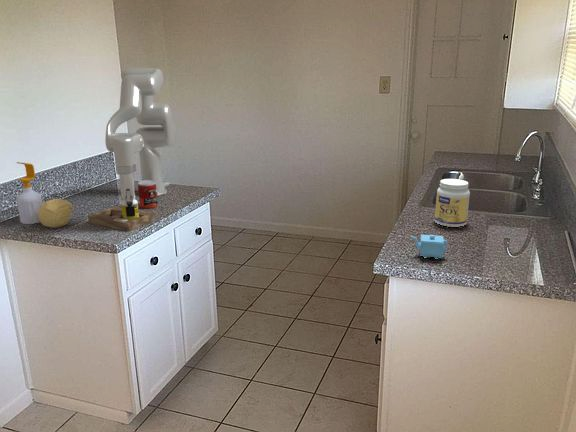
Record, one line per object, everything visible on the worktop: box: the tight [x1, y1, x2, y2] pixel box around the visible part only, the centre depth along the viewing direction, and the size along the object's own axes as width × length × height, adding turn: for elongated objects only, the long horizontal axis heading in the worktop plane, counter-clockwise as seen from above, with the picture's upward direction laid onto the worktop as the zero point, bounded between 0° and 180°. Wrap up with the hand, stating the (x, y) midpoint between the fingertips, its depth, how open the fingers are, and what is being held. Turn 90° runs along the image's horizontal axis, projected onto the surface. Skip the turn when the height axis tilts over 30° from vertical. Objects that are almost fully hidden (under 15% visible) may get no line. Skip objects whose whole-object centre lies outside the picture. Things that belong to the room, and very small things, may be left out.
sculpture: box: [38, 198, 73, 229], centre depth 208 cm, size 12×12×11 cm
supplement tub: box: [434, 178, 471, 228], centre depth 204 cm, size 12×12×17 cm
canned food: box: [137, 180, 159, 210], centre depth 231 cm, size 8×8×11 cm
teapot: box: [410, 234, 449, 259], centre depth 175 cm, size 12×6×8 cm, turn 77°
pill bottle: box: [120, 194, 140, 221], centre depth 208 cm, size 6×6×11 cm
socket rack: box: [87, 205, 155, 232], centre depth 212 cm, size 14×22×3 cm, turn 61°
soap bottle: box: [16, 161, 44, 225], centre depth 211 cm, size 9×9×25 cm
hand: (130, 213), depth 209 cm, fingers closed on pill bottle, 6 cm apart
